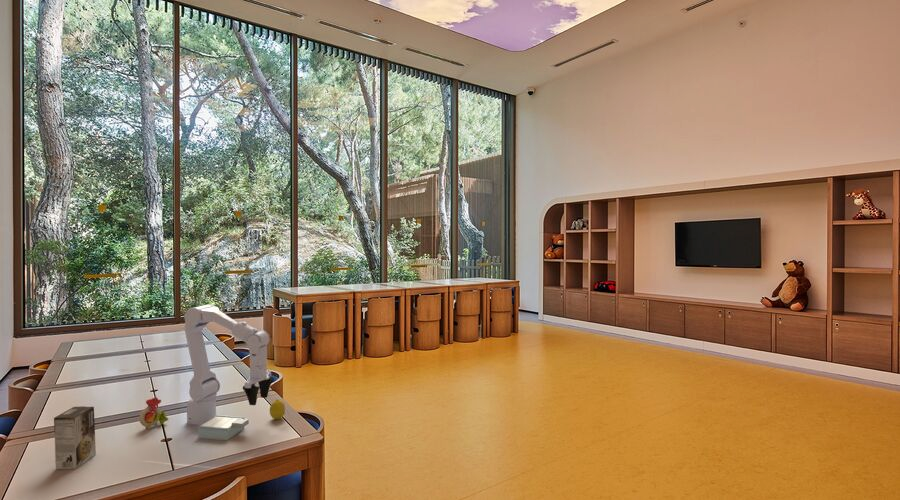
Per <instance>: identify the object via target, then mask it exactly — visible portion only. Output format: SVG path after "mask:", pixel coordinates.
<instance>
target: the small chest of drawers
mask: <svg viewBox="0 0 900 500" xmlns="http://www.w3.org/2000/svg"><path fill="white" fill-rule="evenodd" d="M249 421H250V420H249V419H248V418H244V419H242V418H230V417H214V418H213V419H211V420H209V421H208V422H206V423H205V424H203V425H200V426H211V427H223V428H228V429H230V428H231V427H233V428H243V427H244V428H245V427H246V426H248V425H249Z"/></svg>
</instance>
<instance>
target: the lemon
mask: <svg viewBox="0 0 900 500" xmlns="http://www.w3.org/2000/svg"><path fill="white" fill-rule="evenodd" d="M285 412H286V405H285V403H284V402H283V401H282V400H280V399H276V400H274V401H272V402H271V404H270V406H269V415H270V417H271V418H272V419H274V420H279V419H282V418H283V416H285Z"/></svg>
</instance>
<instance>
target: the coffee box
mask: <svg viewBox="0 0 900 500" xmlns="http://www.w3.org/2000/svg"><path fill="white" fill-rule="evenodd" d="M53 423H54V424H53V425H54V426H53V428H54V429H53V430H54V431H53V432H54V453H55V454H54V455H55V456H54V458H55V459H54V462H55V470H76V469H77V470H78V469H79V468H80V467H81V466H83V465H84V464H85V463H86V462H87V461H89V460H90V459H92V458H93V457H94V456H96V455H97V451H96V429H95V428H96V426H95V407H94V406H72V407H71V408H69V409H68V410H66V411H64V412H62V413H60V414H59V415H57V416H55V417H53Z"/></svg>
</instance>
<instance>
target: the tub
mask: <svg viewBox="0 0 900 500" xmlns="http://www.w3.org/2000/svg"><path fill="white" fill-rule="evenodd" d="M216 417H230V418H242V419H245V417H244V416H237V415H236V416H235V415H233V416H232V415H221V414H216ZM197 428H198V429H197V430H198V431H197V434H198V435H197V436H198V439H208V440H209V439H210V440H219V441H228V440H230V439H231V438H233V437H234V436H236V435H237V434H238V433H240V432H241V431H242V430H244V429H245V426H244V427H243V428H233V427H231V428H230V429H228V428H223V427H211V426H201V425H197Z"/></svg>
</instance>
